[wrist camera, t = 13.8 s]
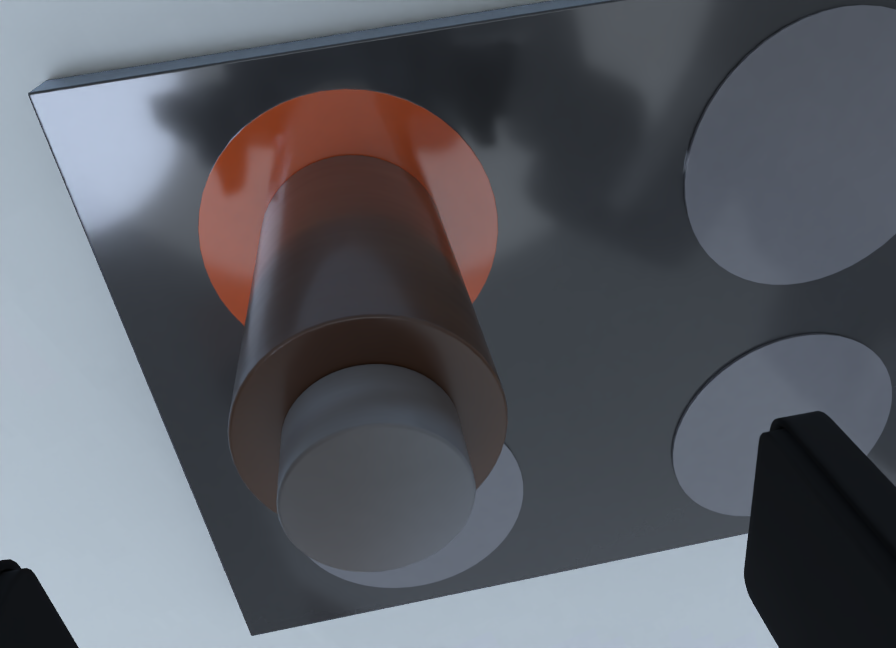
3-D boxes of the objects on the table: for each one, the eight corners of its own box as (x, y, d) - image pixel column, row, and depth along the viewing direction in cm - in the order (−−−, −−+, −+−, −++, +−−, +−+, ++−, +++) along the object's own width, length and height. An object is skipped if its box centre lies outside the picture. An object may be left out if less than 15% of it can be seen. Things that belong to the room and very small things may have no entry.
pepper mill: (430, 139, 17) (519, 345, 9) (452, 304, 19) (540, 577, 12) (239, 171, 17) (171, 410, 9) (285, 334, 19) (261, 635, 11)
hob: (1052, -79, 18) (1100, -77, 17) (906, 473, 27) (931, 498, 26) (44, 80, 16) (24, 94, 15) (253, 606, 26) (251, 639, 25)
